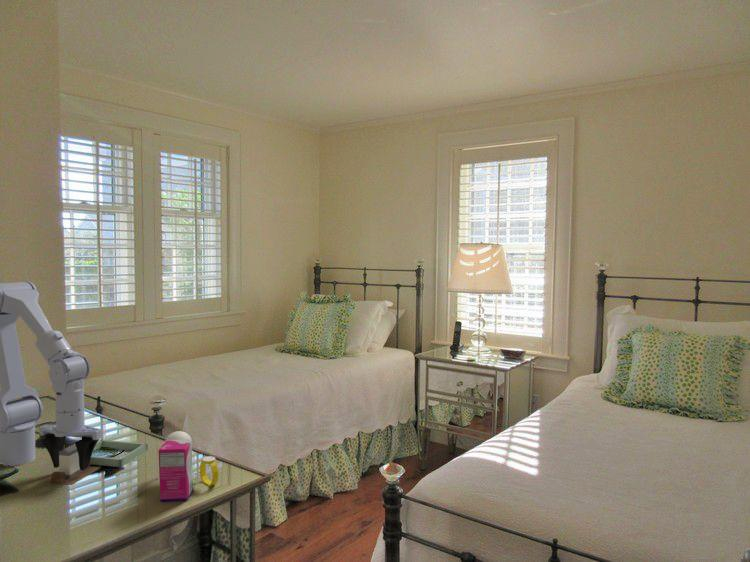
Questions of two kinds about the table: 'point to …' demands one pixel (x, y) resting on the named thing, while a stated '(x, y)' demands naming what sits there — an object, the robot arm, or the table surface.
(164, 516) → the table surface
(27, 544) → the table surface
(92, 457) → the parts tray
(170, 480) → the supplement box
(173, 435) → the lightbulb
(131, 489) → the table surface
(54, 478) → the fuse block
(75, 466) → the block
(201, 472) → the watch
